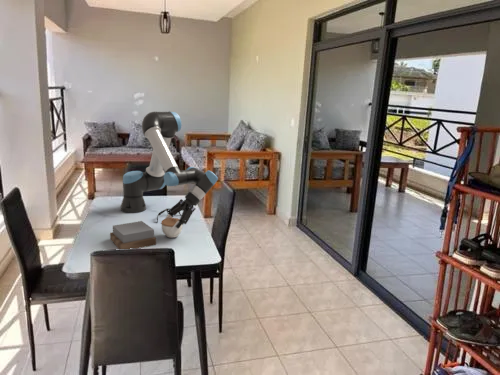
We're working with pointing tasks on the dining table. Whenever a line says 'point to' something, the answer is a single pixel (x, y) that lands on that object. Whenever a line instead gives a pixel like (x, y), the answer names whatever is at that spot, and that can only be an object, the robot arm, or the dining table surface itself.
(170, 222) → the lidded jar
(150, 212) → the dining table surface
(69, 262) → the dining table surface
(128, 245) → the walnut block
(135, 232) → the charcoal grey block
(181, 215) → the glasses
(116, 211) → the dining table surface
